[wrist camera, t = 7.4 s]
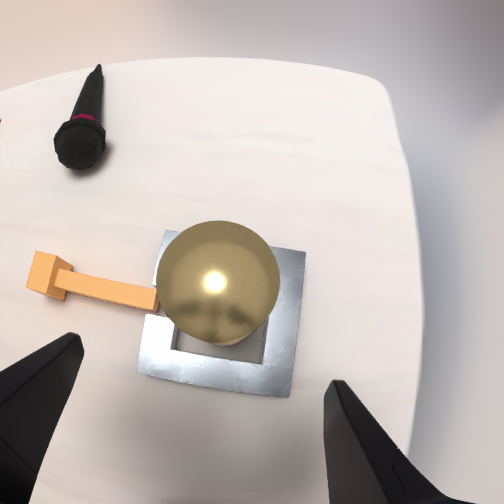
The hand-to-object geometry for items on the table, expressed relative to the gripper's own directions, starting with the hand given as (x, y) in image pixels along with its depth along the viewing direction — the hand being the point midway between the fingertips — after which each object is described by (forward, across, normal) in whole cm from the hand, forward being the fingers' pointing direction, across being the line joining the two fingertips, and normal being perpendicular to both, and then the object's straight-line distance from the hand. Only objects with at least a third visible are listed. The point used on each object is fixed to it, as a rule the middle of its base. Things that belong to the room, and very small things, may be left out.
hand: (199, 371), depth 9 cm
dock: (+12, 0, +7) cm, 14 cm away
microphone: (+26, +19, -7) cm, 33 cm away
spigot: (+12, 0, +7) cm, 14 cm away
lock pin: (+12, +11, +7) cm, 17 cm away
